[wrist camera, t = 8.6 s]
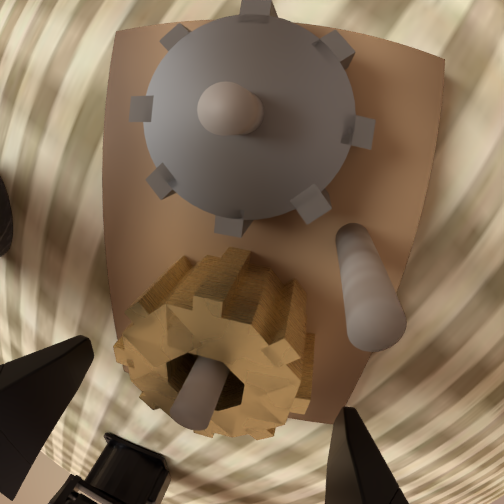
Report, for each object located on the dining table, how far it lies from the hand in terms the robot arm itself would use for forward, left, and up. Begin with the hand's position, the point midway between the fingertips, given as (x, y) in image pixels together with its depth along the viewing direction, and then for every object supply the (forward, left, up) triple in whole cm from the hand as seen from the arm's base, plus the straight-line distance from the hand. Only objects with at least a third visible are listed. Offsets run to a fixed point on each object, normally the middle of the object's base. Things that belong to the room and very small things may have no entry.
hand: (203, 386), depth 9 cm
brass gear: (0, 0, -4) cm, 4 cm away
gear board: (0, +3, -5) cm, 6 cm away
